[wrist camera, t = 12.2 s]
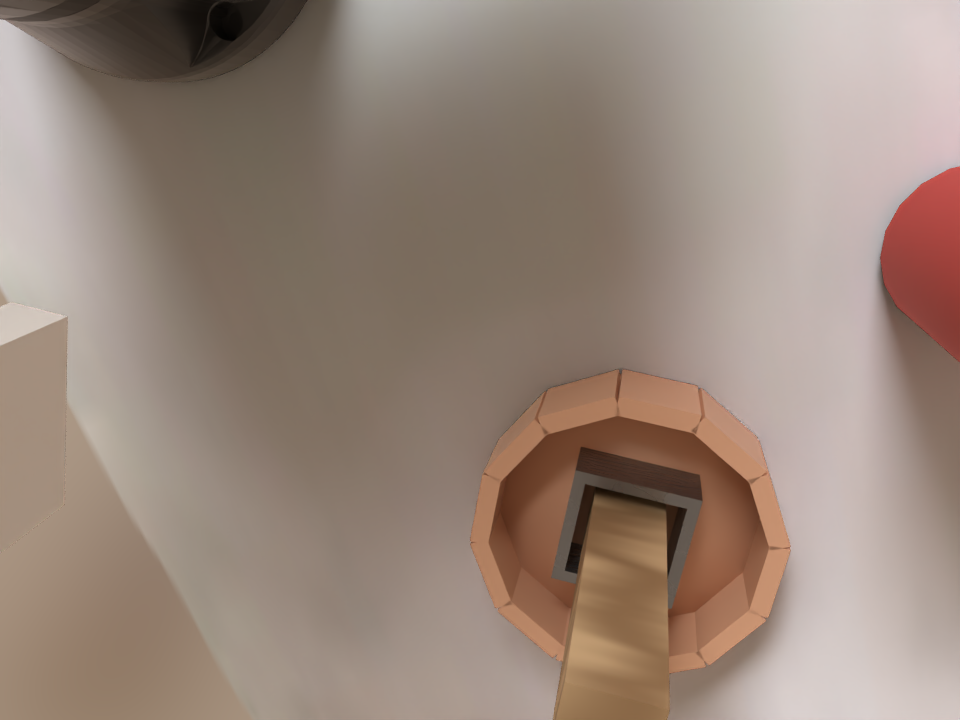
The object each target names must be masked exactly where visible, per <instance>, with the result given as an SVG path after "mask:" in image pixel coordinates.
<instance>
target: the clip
mask: <svg viewBox="0 0 960 720" xmlns="http://www.w3.org/2000/svg"><path fill="white" fill-rule="evenodd" d="M585 484H587V485H591V486H595V487H599V488H603V489H608V490H612V491H616V492H620V493H624V494H628V495H632V496H636V497H640V498H644V499H649V500H653V501H657V502H661V503H665V504H669V505H673V506H677V507H678V511H677V514H676V518H675V522H674V525H673V529H672V532H671V536H670V539H669V543H668V547H667V586H668V608H669V609H672V606H673V603H674V599H675V596H676V592H677V589H678V585H679V582H680V578H681V575H682V571H683V568H684V564H685V561H686V558H687V554H688V551H689V547H690V544H691V540H692V537H693V533H694V530H695V526H696V523H697V519H698V516H699V512H700V509H701V505H702V502H703V499H702V490H701V480H700V475H698V474H694V473H690V472H686V471H682V470H677V469H673V468H669V467H665V466H660V465H656V464H652V463H648V462H644V461H639V460H635V459H631V458H627V457H623V456H618V455H614V454H610V453H606V452H602V451H597V450H593V449H589V448H585V447H581V448H580V452H579V457H578V461H577V466H576V470H575V474H574V479H573V483H572V487H571V492H570V496H569V500H568V505H567V509H566V514H565V518H564V522H563V527H562V531H561V535H560V540H559V544H558V549H557V553H556V558H555V562H554V567H553V571H552V576H551V578H554V579H558V580H562V581H566V582H569V583H573V584H576V579H577V573H578V567H579V561H580V555H581V550H582V545H581V544H577V543H573V542H572V538H573V533H574V529H575V525H576V521H577V516H578V512H579V508H580V504H581V499H582V495H583V491H584V487H585Z"/></svg>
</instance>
